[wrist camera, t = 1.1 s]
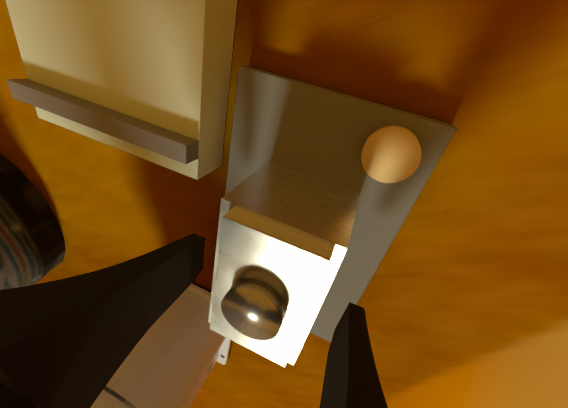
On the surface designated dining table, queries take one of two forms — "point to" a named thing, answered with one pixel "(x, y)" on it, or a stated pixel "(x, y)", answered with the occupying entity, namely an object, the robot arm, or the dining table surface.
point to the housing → (278, 257)
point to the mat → (338, 163)
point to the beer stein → (25, 231)
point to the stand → (131, 74)
